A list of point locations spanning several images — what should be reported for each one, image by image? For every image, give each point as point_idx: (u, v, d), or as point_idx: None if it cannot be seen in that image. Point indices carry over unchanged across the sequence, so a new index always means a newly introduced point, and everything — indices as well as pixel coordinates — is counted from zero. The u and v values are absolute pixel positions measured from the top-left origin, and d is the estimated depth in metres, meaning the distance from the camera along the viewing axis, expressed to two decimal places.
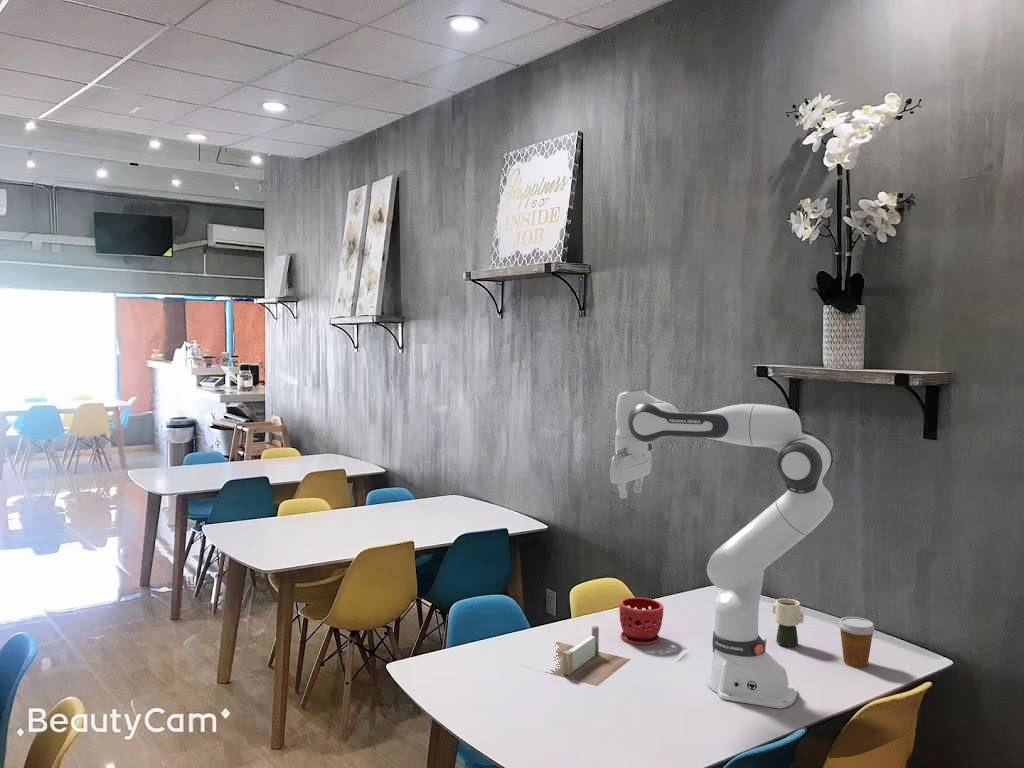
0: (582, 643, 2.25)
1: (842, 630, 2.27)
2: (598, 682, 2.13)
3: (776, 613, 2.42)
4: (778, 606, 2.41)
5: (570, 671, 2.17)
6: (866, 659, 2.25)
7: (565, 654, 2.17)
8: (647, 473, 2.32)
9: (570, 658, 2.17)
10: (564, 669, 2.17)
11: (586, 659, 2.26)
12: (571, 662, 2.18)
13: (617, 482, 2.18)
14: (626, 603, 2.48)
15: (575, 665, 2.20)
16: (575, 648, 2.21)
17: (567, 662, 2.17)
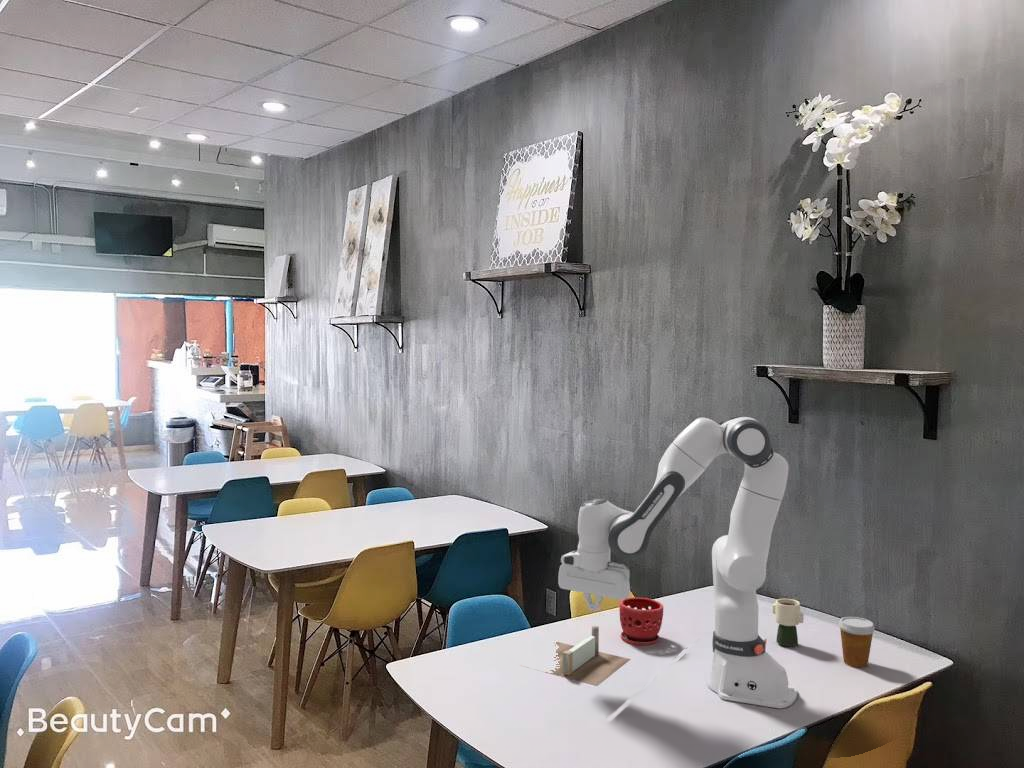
0: (582, 643, 2.25)
1: (842, 630, 2.27)
2: (598, 682, 2.13)
3: (776, 613, 2.42)
4: (778, 606, 2.41)
5: (570, 671, 2.17)
6: (866, 659, 2.25)
7: (565, 654, 2.17)
8: None
9: (570, 658, 2.17)
10: (564, 669, 2.17)
11: (586, 659, 2.26)
12: (571, 662, 2.18)
13: (627, 596, 2.12)
14: (626, 603, 2.48)
15: (575, 665, 2.20)
16: (575, 648, 2.21)
17: (567, 662, 2.17)
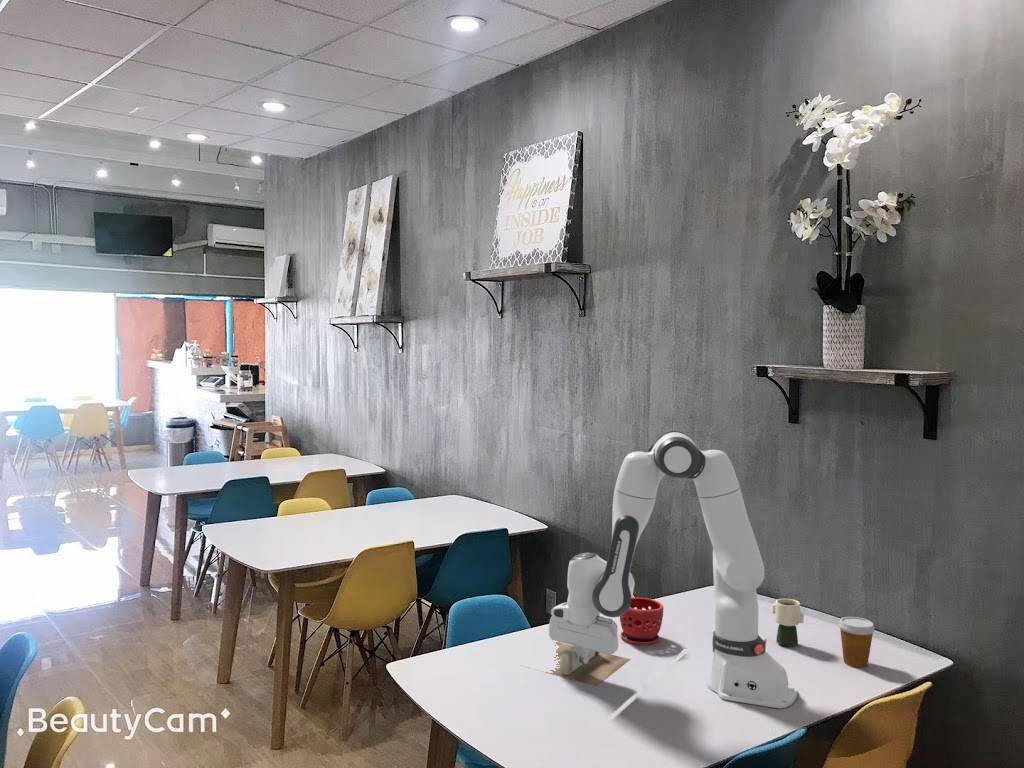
0: None
1: (842, 630, 2.27)
2: (598, 682, 2.13)
3: (776, 613, 2.42)
4: (778, 606, 2.41)
5: (570, 671, 2.17)
6: (866, 659, 2.25)
7: (565, 654, 2.17)
8: None
9: (570, 658, 2.17)
10: (564, 669, 2.17)
11: None
12: (571, 662, 2.18)
13: (615, 651, 2.14)
14: None
15: (574, 665, 2.20)
16: None
17: (567, 662, 2.17)
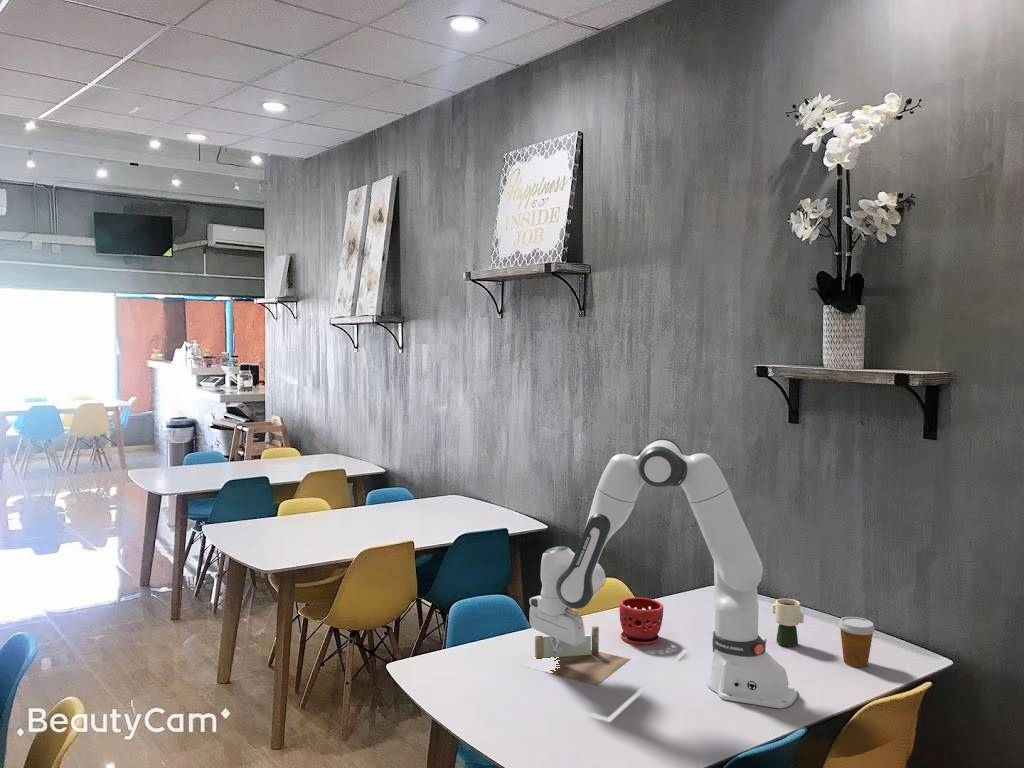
0: None
1: (842, 630, 2.27)
2: (598, 682, 2.13)
3: (776, 613, 2.42)
4: (778, 606, 2.41)
5: (539, 656, 2.28)
6: (866, 659, 2.25)
7: (535, 638, 2.28)
8: None
9: (539, 643, 2.27)
10: (535, 652, 2.29)
11: (572, 653, 2.30)
12: (541, 648, 2.28)
13: (581, 643, 2.19)
14: (626, 603, 2.48)
15: (550, 653, 2.28)
16: None
17: (536, 646, 2.28)
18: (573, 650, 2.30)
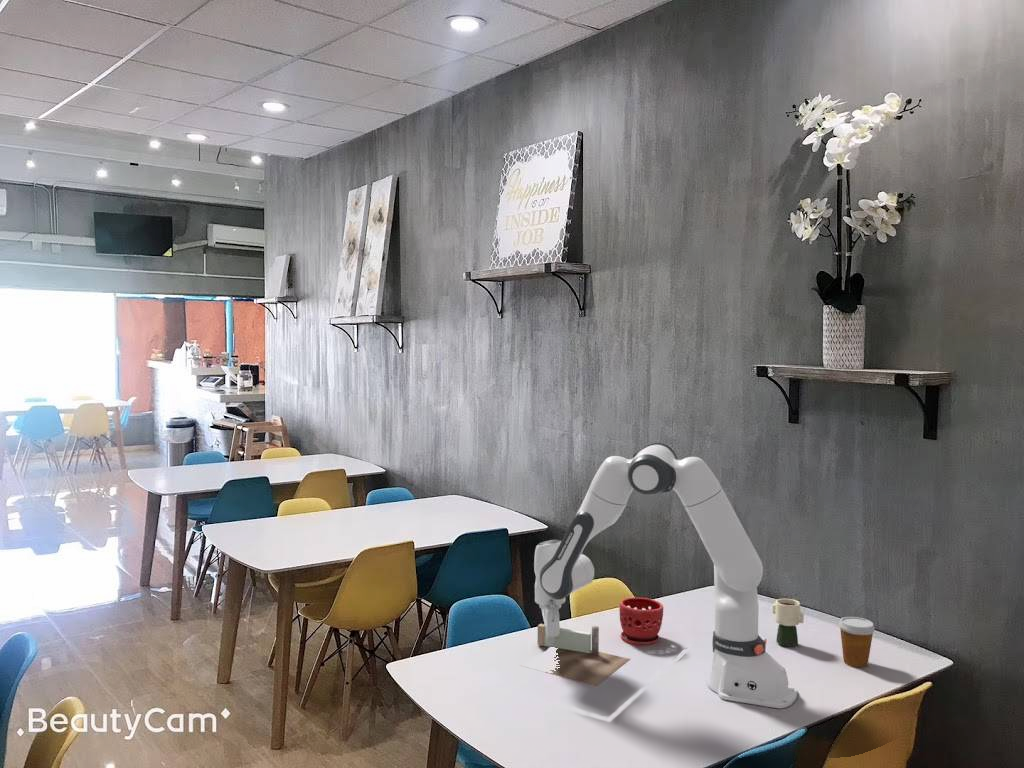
0: (568, 630, 2.35)
1: (842, 630, 2.27)
2: (598, 682, 2.13)
3: (776, 613, 2.42)
4: (778, 606, 2.41)
5: (540, 643, 2.38)
6: (866, 659, 2.25)
7: None
8: None
9: (540, 631, 2.37)
10: None
11: (571, 648, 2.34)
12: (542, 636, 2.37)
13: (555, 636, 2.24)
14: (626, 603, 2.48)
15: None
16: None
17: None
18: (572, 645, 2.34)
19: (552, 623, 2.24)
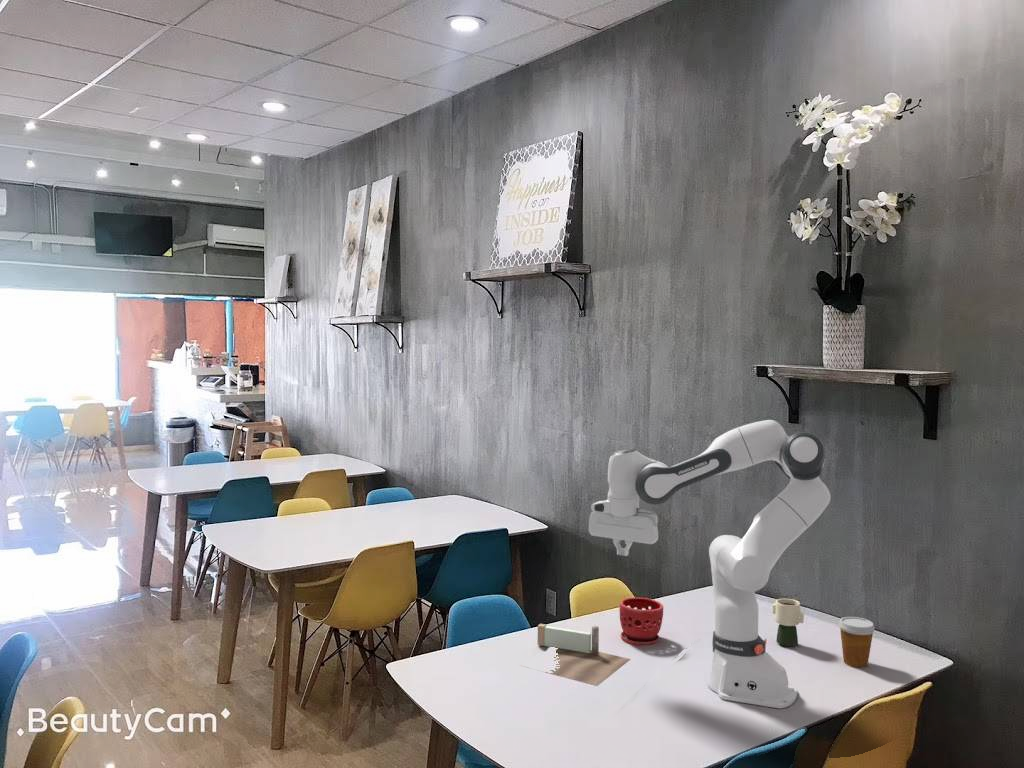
0: (568, 630, 2.35)
1: (842, 630, 2.27)
2: (598, 682, 2.13)
3: (776, 613, 2.42)
4: (778, 606, 2.41)
5: (540, 643, 2.38)
6: (866, 659, 2.25)
7: None
8: None
9: (540, 631, 2.37)
10: None
11: (572, 648, 2.34)
12: (542, 635, 2.37)
13: None
14: (626, 603, 2.48)
15: (550, 642, 2.37)
16: (554, 628, 2.36)
17: None
18: (572, 645, 2.34)
19: (655, 528, 2.21)
